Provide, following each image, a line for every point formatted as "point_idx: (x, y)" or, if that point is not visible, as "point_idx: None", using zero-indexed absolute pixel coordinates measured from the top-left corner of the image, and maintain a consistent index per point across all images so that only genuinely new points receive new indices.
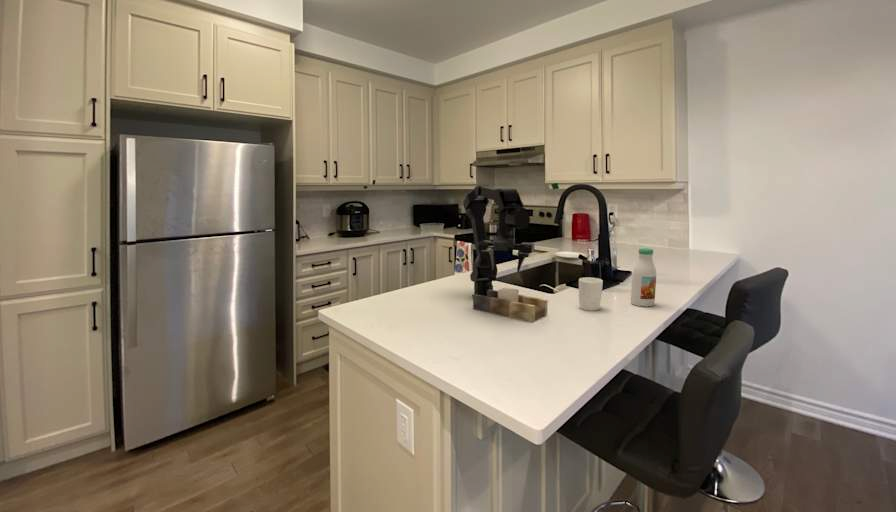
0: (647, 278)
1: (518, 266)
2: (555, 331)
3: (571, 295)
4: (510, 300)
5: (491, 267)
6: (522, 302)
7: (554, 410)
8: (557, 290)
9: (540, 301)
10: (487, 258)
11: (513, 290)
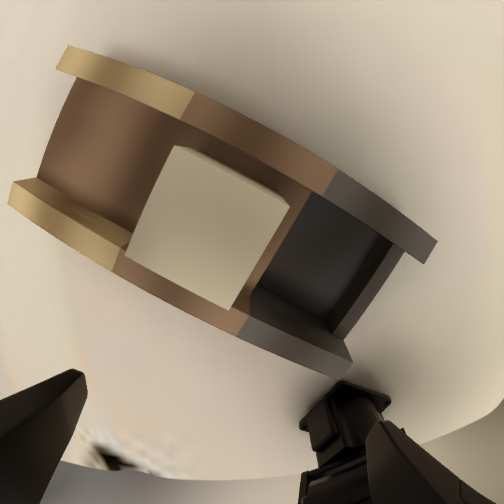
0: None
1: (34, 402)
2: (50, 6)
3: None
4: (190, 148)
5: (398, 438)
6: None
7: None
8: (97, 465)
9: (36, 192)
10: (485, 498)
11: (158, 217)
